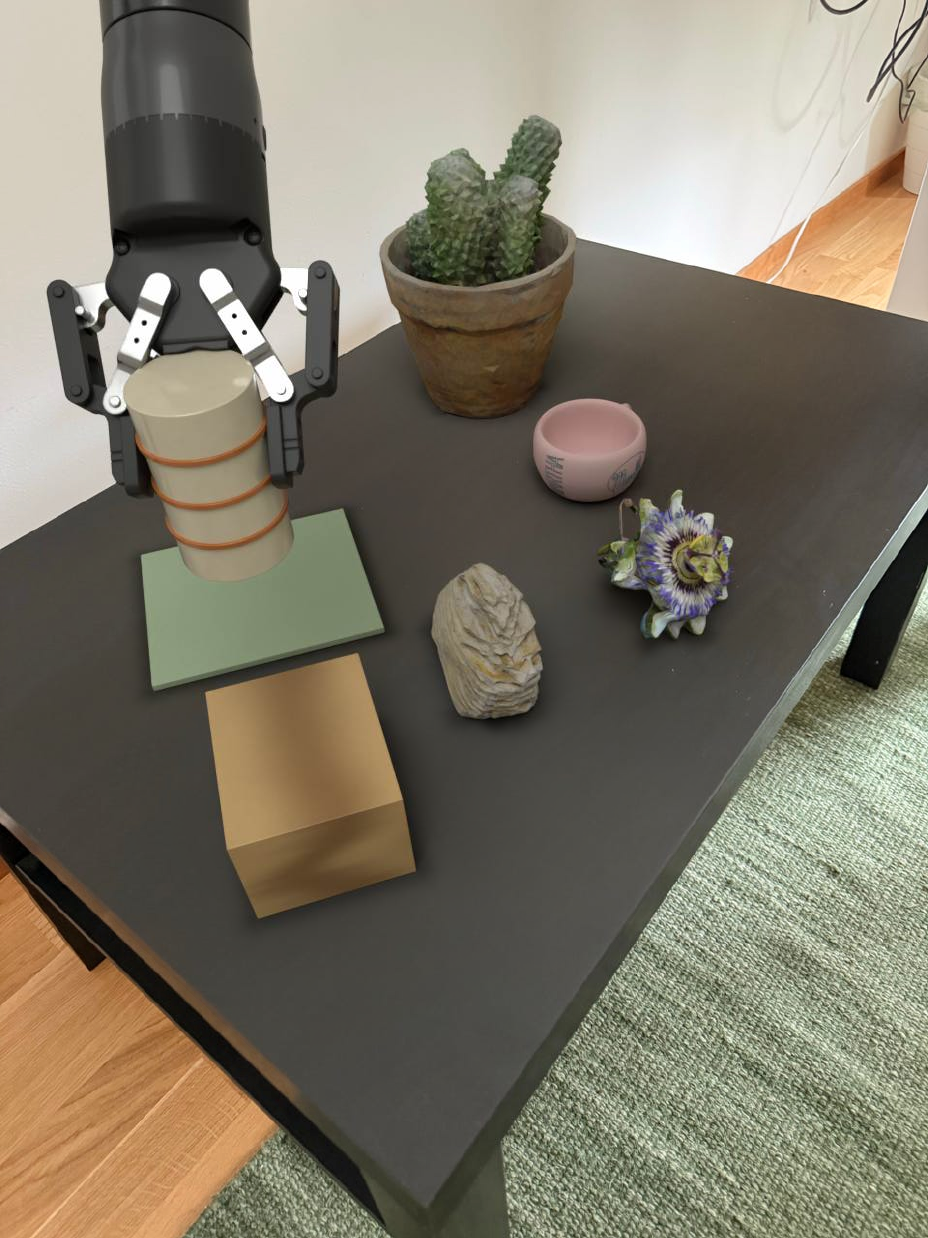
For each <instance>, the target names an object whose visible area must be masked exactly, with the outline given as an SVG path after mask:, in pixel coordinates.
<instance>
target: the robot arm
mask: <svg viewBox="0 0 928 1238" xmlns="http://www.w3.org/2000/svg"><path fill="white" fill-rule="evenodd" d="M249 2H250V1H249V0H98V4H99V5H98V6H99V17H100V19H99V20H100V31H101V33H100V34H101V43H102V62H101V63H102V64H101V65H102V66H101V75H100V76H101V79H100V81H101V82H100V106H101V118H102V119H101V121H102V134H103V135H102V136H103V149H104V161H105V172H106V186H107V187H106V188H107V201H108V214H109V227H110V237H111V245H112V261H111V265H110V267H109V270H108V272H107V274H106V276H105V280H103V281H97V282H90V283H86V284H80V285H75V286H72V285H71V284H70V283H69V282H68V281H66V280H64V279H55V280H52V281H51V282H50V283H49V284H48V285H47V288H46V298H47V303H48V309H49V314H50V315H49V316H50V320H51V321H50V322H51V327H52V331H53V337H54V343H55V348H56V353H57V359H58V366H59V371H60V376H61V377H60V378H61V380H62V381H61V382H62V388H63V393H64V397H65V398H66V400H67V401H69V402H70V403H72V404H74V405H76V406H77V407H79V408H82V409H83V410H84V411H87V412H89V413H91V414H93V415H100V416H104V418H105V419H106V421H107V425H108V439H109V452H110V461H111V462H110V465H111V467H110V468H111V475H112V477H113V479H114V481H115V483H116V484H117V485H119V486H121V487H124V491H125V493H126V495H127V496H128V497H131V498H134V499H137V500H142V499H153V498H154V496H155V491H154V489H153V487H152V483H151V472H150V469H149V467H148V464H147V461H146V458H145V456H144V455H143V454H142V453H141V452H140V450H139V448H138V446H137V443H136V439H135V432H136V431H135V428H134V426H133V423H132V420H131V417H130V415H129V412H128V409H127V406H126V404H125V401H124V398H123V388H124V385H125V383H126V381H127V380H128V378H129V377H130V376H131V375H132V374H133V373H134V372H135V371H136V370H137V369H140V368H141V367H142V366H143V365H145V364H146V363H148V362H150V361H152V360H154V359H156V358H158V357H160V356H163V355H166V354H179V353H185V352H189V351H193V350H196V349H203V350H211V351H215V350H216V351H219V350H232V351H235V352H237V353H240V354H241V355H243V356H245V358H246V359H247V361H250V362H251V364H252V366H253V368H254V372H255V375H256V377H257V378H258V379H259V381H260V382H261V384H262V386H263V388H264V389H265V390H266V392H267V394H268V395H269V405H267V406H266V405H265V415H266V428H267V441H268V455H269V468H270V478H271V483H272V485H273V486H274V487H276V488H277V489H286V490H287V489H293V488H294V477H298V476H302V475H303V471H304V469H305V466H306V462H305V453H304V452H305V449H304V436H303V422H302V413H303V411H304V409H305V407H306V406H308V404H310V403H312V402H315V401H316V400H318V399H319V400H320V399H321V398H323V399H327V398H331V397H333V395H335V394H336V392H337V390H338V377H339V375H338V374H339V346H340V345H339V343H340V339H339V338H340V309H341V307H340V306H341V288H340V285H339V282H338V279H337V276H336V273H335V271H334V270H333V267H332V265H331V264H330V263H329V262H328V261H326V260H322V259H318V260H314V261H313V262H312V263H310V264H309V266H308V267H281V266H280V264H279V263H278V261H277V259H276V258H275V255H274V250H273V240H272V228H271V227H272V225H271V213H270V200H269V199H270V198H269V188H268V186H269V185H268V173H267V172H268V171H267V158H266V152H267V149H268V147H267V145H268V143H267V130H266V127H265V125H264V119H263V117H264V116H263V108H262V100H261V95H260V89H259V85H258V80H257V76H256V71H255V64H254V57H253V56H254V55H253V54H254V53H253V40H252V26H251V25H252V24H251V12H250V3H249ZM284 294H287V295H290V296H292V301H293V304H294V306H295V308H296V309H297V311H298V313H300V315H302V316H304V317H305V348H304V349H305V350H304V368H302V369H300V370H297V371H296V372H293V373H291V374H289V373H288V372H287V370H286V369H285V367H284V365H283V363H282V361H281V359H280V358H279V357H278V355H277V354H276V352H275V350H274V349H273V346H272V345H271V344H270V342H269V340H268V339H267V338H266V336H265V335H264V333H263V329H264V328H265V326H266V324H267V323H268V321H269V319H270V317H271V316H272V314H273V313H274V311H275V310H276V308H277V306H278V305H279V304H280V302H281V300H282V298H283V296H284ZM113 307H115V308H116V309H117V311H118V312H120V314H121V315H122V316H123V317H124V319H125V320H126V321H127V322H128V324H129V325H128V327H127V330H126V332H125V334H124V337H123V339H122V341H121V344H120V346H119V348H118V350H117V353H116V363H117V364H116V367H115V370H114V372H113V374H112V377H111V379H110V381H109V383H108V385H107V381H106V376H105V370H104V363H103V360H102V359H103V358H102V353H101V348H100V342H99V335H98V333H99V332H101V331H103V330H104V328H105V326H106V322H107V321H106V319H107V313H108V311H110V309H111V308H113Z"/></svg>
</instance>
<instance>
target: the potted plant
mask: <svg viewBox="0 0 928 1238" xmlns="http://www.w3.org/2000/svg"><path fill="white" fill-rule="evenodd" d="M517 128H518V129H517V131H516V132H513V133H512V138H510V141H511V147H509V148H507V149H506V154H507V157H504V163H500V164H498V167H499V170H498V171H496V170H495V171H492V175H493V179H486V176H487V175H486V174H487V171H485V169H483V168H482V167H481V164H480V163H477V162H476V160H475V159H474V158H473V157H472V156H471V155H470V152H469V150H468V149H466V148H465V147H459V148H457V149H453V150H451V151H450V152H449V153H447V154H446V155H444V156H442V157H439V158H437V159H434V160H433V161H431V162H430V166H429V168H428V170H427V172H426V176H427V181H426V182H425V185H424V187H423V189H424V190H425V192H426V195H425V196H424V198H425V200H426V201H427V202H428V204H427V205H426V208H423V209H421V210H419V211H418V212H415V213H414V212H412V215H411V216H410V217H409V218H408V220H405V223H404V224H403V225H401V226H399V227H397V228H396V229H394V230H393V231H392V232H390V233H389V234H388V235H387V236H385V238H384V239H383V241H382V243H380V246H379V253H378V257H379V261H380V265H381V270H382V274H383V277H384V283H385V287H386V290H387V293H388V297H389V300H390V303H391V305H393V307H394V308H395V309H396V310H397V313H398V316H399V319H400V322H401V325H402V329H403V331H404V334H405V337H406V340H407V342H408V345H409V347H410V351H411V353H412V355H413V358H414V360H415V362H416V365H417V367H418V369H419V372H420V374H421V377H422V380H423V382H424V385H425V387H426V389H427V392H428V395H429V397H430V398H431V400H432V401H433V402H434V404H435V405H436V406H437V407H439V408H440V410H441V411H442V412H444V413H445V412H446V413H449V414H453V415H456V416H461V417H465V418H467V419H494V418H500V417H504V416H508V415H511V414H514V413H516V412H519V411H521V410H522V409H523V408H525V406H527V405H528V404H529V403H531V401H532V399H533V397H534V396H535V394H536V393H537V390H538V389H539V386H540V383H541V380H542V377H543V373H544V371H545V368H546V365H547V363H548V359H549V356H550V353H551V351H552V347H553V344H554V341H555V338H556V337H555V336H556V333H557V329H558V326H559V323H560V321H561V319H562V318H563V314H564V313H563V312H564V308H565V307H564V306H565V301H566V299H567V297H568V295H569V293H570V291H571V289H572V287H573V285H574V270H575V253H576V247H577V244H578V238H577V235H576V233H575V231H574V230H573V228H572V227H570V226H568V225H567V224H565V223H564V222H562V221H561V220H559V219H558V218H556V217H555V216H553V215H552V214H551V215H550V214H547V213H545V212H542V211H544V207H545V206H544V203H545V202H546V201H547V199H548V197H549V195H550V193H551V191H552V190H551V189H550V188H549V187H548V186H547V185H548V184H549V182H551V180H552V178H551V177H552V176H553V173H552V171H554V169H556V167H557V164H555V160H557V159H559V156H560V148H561V146H563V139H562V135H561V131H560V127H559V128H558V126H557V125H555V124H554V123H553V122H551V121H549V120H547V119H545V118H543V117H542V116H540V115H538V114H531V115H530V114H529V116H528V118H523V119H522V122H521V124H519V125H518V127H517Z"/></svg>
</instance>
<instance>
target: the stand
mask: <svg viewBox="0 0 928 1238" xmlns="http://www.w3.org/2000/svg"><path fill="white" fill-rule="evenodd" d="M204 694H205V700H206V701H205V702H206V708H207V715H208V716H207V717H208V724H209V730H210V737H211V745H212V753H213V759H214V766H215V767H214V768H215V773H216V782H217V789H218V797H219V802H220V811H221V818H222V824H223V832H224V839H225V847H226V852H227V853H228V855H229V858H230V860H231V862H232V864H233V867H234V870H235V871H236V874H237V876H238V878H239V880H240V882H241V884H242V887H243V888H244V891H245V893H246V895H247V897H248V900H249V902H250V904H251V906H252V909H253V911H254V913H255V915H256V917H257V919H258V920H259V919H262V918H265V917H266V918H267V917H269V916H272V915H276V914H278V913H282V912H285V911H289V910H292V909H295V908H298V907H301V906H305V905H309V904H312V903H316V902H319V901H322V900H326V899H328V898H332V897H335V896H338V895H343V894H345V893H348V892H352V891H355V890H359V889H361V888H362V889H363V888H366V887H368V886H372V885H375V884H379V883H382V882H385V881H388V880H391V879H395V878H399V877H401V876H405V875H409V874H411V873H415V872H416V871H417V868H416V862H415V857H414V852H413V847H412V841H411V836H410V830H409V825H408V819H407V818H408V817H407V814H406V809H405V802H404V798H403V795H402V792H401V789H400V785H399V782H398V778H397V776H396V775H397V774H396V772H395V769H394V766H393V765H394V764H393V762H392V758H391V756H390V752H389V749H388V745H387V741H386V739H385V736H384V733H383V729H382V726H381V722H380V719H379V716H378V714H377V713H378V712H377V709H376V706H375V703H374V700H373V697H372V693H371V690H370V687H369V684H368V681H367V676H366V674H365V671H364V668H363V664H362V661H361V658H360V654H359V653H358V652H355V653H352V654H351V653H350V654H347V655H345V656H344V655H343V656H339V657H336V658H332V659H329V660H325V661H320V662H317V663H313V664H309V665H306V666H301V667H298V668H294V669H290V670H286V671H282V672H277V673H275V674H271V675H266V676H263V677H259V678H255V679H251V680H247V681H244V682H240V683H236V684H232V685H228V686H224V687H220V688H217V689H212V690H209V691H205V693H204Z"/></svg>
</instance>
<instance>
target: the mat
mask: <svg viewBox="0 0 928 1238" xmlns="http://www.w3.org/2000/svg"><path fill="white" fill-rule="evenodd" d="M291 523H292V527H293V531H294V541H293V545H292V548H291V550H290V551H289V553H288V555H287V556H286V557H285V558H284V559H283V560H282V561H281V562H280V563H279V564H278V565H276V566H275V567H274V568H272V569H271V570H269V571H267V572H265V573H263V574H261V575H259V576H256V577H253V578H250V579H246V580H242V581H235V582H215V581H209V580H206V579H203V578H200V577H198V576H196V575H195V574H193V573H192V572H191V571H190V570H189V569H188V568H187V567H186V566H185V564H184V562H183V559H182V557H181V554H180V551H179V549H178V546H173V547H170V548H165V549H161V550H156V551H151V552H147V553H143V554H140V560H141V571H142V585H143V597H144V609H145V620H146V633H147V643H148V644H147V645H148V657H149V670H150V682H151V688H152V690H153V692H156V691H161V690H165V689H169V688H172V687H178V686H181V685H184V684H188V683H192V682H193V683H194V682H196V681H200V680H204V679H208V678H212V677H216V676H221V675H223V674H228V673H231V672H235V671H240V670H242V669H243V670H244V669H248V668H251V667H255V666H259V665H262V664H266V663H270V662H274V661H279V660H282V659H287V658H289V657H294V656H299V655H302V654H306V653H311V652H312V651H317V650H321V649H326V648H330V647H333V646H337V645H341V644H345V643H349V642H352V641H356V640H361V639H364V638H368V637H373V636H377V635H381V634H384V633H385V631H386V630H385V625H384V624H383V620H382V617H381V615H380V612H379V609H378V606H377V603H376V600H375V598H374V594H373V592H372V588H371V586H370V585H371V584H370V583H369V579H368V576H367V574H366V571H365V568H364V566H363V562H362V560H361V556H360V554H359V551H358V547H357V544H356V542H355V539H354V536H353V533H352V530H351V527H350V524H349V522H348V519H347V515H346V512H345V510H344V508H338V509H334V510H330V511H326V512H325V511H324V512H321V513H316V514H313V515H308V516H303V517H299V518H295V519H291Z"/></svg>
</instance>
